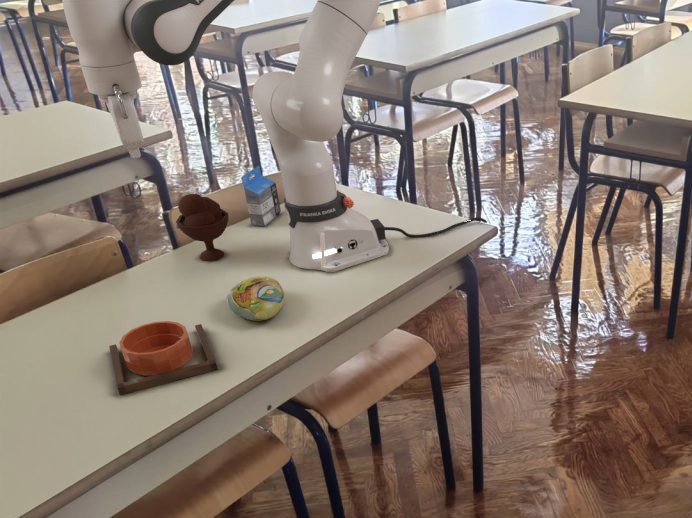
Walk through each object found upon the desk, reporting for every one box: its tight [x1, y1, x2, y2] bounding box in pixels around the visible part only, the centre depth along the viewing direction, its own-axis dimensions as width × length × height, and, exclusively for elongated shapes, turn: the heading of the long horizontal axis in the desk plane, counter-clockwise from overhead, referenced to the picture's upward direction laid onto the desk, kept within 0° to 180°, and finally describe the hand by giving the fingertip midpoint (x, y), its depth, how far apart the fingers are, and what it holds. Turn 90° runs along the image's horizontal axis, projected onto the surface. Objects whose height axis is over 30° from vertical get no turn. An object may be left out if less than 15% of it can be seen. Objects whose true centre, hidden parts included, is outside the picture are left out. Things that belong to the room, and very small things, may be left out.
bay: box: [108, 323, 219, 396], centre depth 138 cm, size 16×15×2 cm
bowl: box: [119, 320, 194, 377], centre depth 137 cm, size 11×11×5 cm
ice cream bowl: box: [175, 193, 230, 263], centre depth 169 cm, size 11×11×15 cm
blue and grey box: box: [240, 165, 282, 227], centre depth 187 cm, size 9×4×12 cm, turn 167°
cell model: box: [227, 275, 285, 322], centre depth 152 cm, size 11×8×15 cm
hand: (135, 155), depth 143 cm, fingers closed
